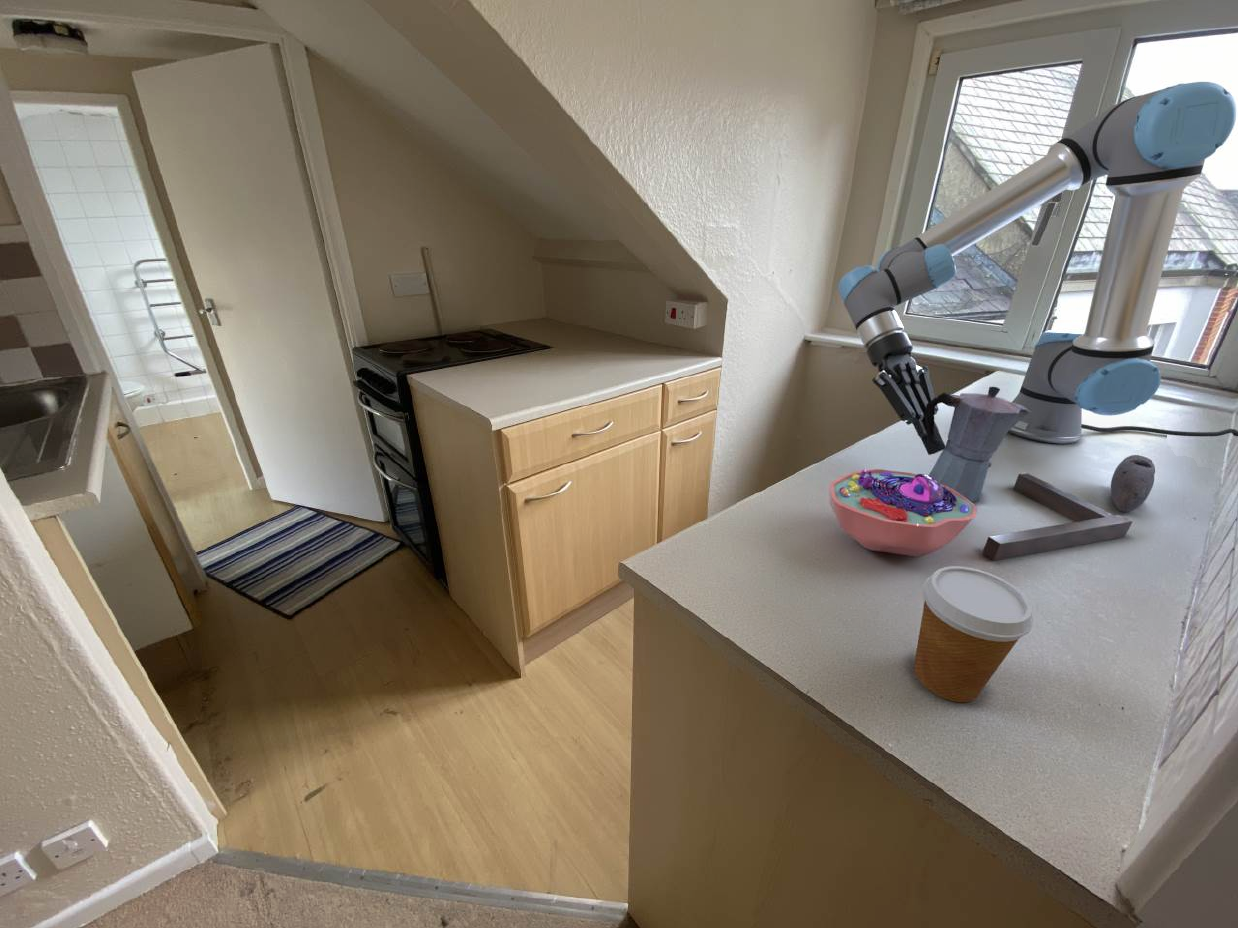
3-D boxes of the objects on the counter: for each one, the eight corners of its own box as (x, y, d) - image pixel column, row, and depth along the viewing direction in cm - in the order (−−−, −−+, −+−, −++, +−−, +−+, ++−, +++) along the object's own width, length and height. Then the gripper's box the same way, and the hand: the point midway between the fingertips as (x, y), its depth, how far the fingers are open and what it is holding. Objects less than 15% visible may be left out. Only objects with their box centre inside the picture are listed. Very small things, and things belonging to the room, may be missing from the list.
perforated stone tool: (1138, 523, 87) (1158, 486, 84) (1098, 511, 90) (1115, 475, 87) (1145, 492, 97) (1162, 458, 94) (1108, 483, 100) (1124, 449, 97)
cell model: (805, 511, 89) (817, 450, 84) (925, 514, 89) (944, 453, 84) (839, 574, 74) (857, 504, 69) (984, 578, 74) (1012, 509, 69)
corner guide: (1025, 486, 98) (1031, 472, 97) (1124, 537, 84) (1133, 521, 82) (908, 503, 92) (913, 488, 91) (993, 560, 77) (1000, 544, 76)
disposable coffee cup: (881, 647, 62) (907, 564, 57) (959, 644, 62) (993, 562, 57) (928, 718, 53) (964, 628, 48) (1018, 714, 54) (1064, 625, 49)
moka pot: (1008, 509, 91) (1052, 399, 82) (911, 499, 93) (944, 391, 84) (985, 483, 99) (1023, 381, 90) (897, 475, 102) (926, 374, 93)
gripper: (894, 348, 109) (944, 453, 103) (846, 354, 104) (896, 464, 98) (923, 327, 102) (979, 438, 96) (874, 332, 97) (930, 449, 91)
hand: (937, 451), depth 97 cm, fingers closed
